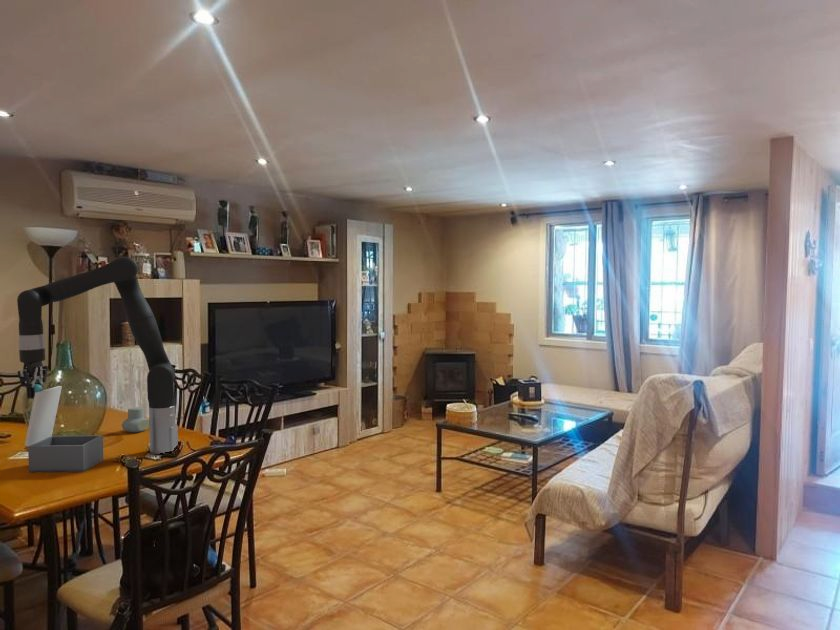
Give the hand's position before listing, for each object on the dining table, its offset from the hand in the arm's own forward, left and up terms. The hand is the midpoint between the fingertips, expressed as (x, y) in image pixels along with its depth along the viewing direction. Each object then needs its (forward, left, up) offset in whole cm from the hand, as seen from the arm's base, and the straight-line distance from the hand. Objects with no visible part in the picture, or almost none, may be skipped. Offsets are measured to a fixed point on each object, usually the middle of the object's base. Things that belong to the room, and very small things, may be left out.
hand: (34, 396), depth 207 cm
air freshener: (-12, -51, -25) cm, 58 cm away
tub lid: (-4, 0, -6) cm, 7 cm away
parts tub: (-10, 0, -24) cm, 27 cm away
